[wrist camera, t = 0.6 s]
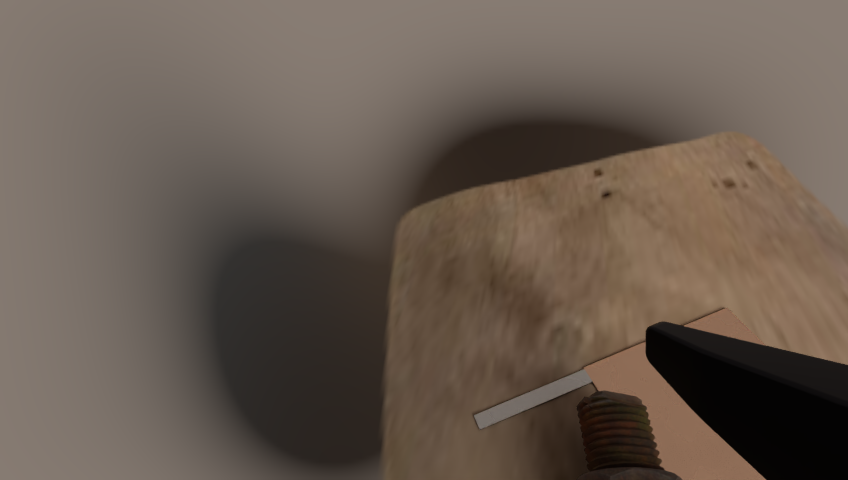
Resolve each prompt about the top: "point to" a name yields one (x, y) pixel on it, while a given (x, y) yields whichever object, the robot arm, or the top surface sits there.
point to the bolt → (619, 439)
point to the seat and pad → (654, 407)
